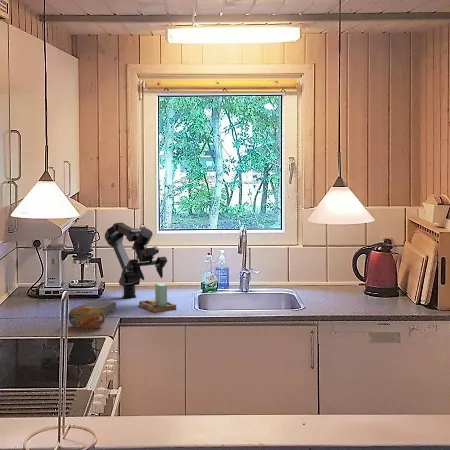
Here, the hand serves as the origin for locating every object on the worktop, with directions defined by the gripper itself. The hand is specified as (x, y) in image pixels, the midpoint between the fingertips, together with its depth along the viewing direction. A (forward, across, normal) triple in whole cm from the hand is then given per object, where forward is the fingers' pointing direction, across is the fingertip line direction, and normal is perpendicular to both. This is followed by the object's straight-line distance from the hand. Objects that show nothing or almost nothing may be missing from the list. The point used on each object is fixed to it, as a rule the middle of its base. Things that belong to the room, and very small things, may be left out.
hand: (152, 278), depth 332 cm
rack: (+12, 0, +6) cm, 14 cm away
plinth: (+7, -25, +12) cm, 29 cm away
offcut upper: (+8, 0, +8) cm, 11 cm away
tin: (+22, -38, -2) cm, 44 cm away
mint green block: (+14, 0, +3) cm, 15 cm away
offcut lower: (+9, 0, +8) cm, 12 cm away
